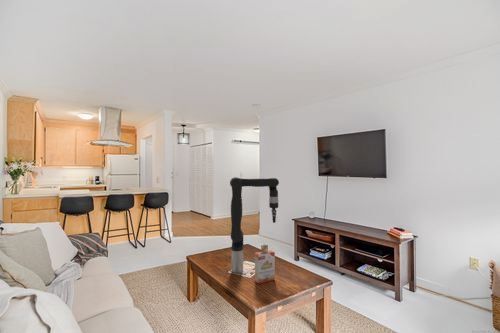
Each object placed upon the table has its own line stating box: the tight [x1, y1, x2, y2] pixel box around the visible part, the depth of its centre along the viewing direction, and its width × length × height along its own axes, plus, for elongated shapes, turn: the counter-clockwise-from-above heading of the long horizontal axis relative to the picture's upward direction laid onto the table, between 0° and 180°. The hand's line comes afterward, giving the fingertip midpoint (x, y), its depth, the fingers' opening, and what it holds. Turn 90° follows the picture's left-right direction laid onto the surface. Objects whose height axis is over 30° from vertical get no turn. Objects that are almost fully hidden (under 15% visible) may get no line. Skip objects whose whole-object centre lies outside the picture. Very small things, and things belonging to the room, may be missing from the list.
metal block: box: [260, 242, 269, 253], centre depth 192 cm, size 5×5×6 cm
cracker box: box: [254, 249, 276, 284], centre depth 192 cm, size 14×6×21 cm, turn 117°
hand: (274, 221), depth 217 cm, fingers open, 8 cm apart
